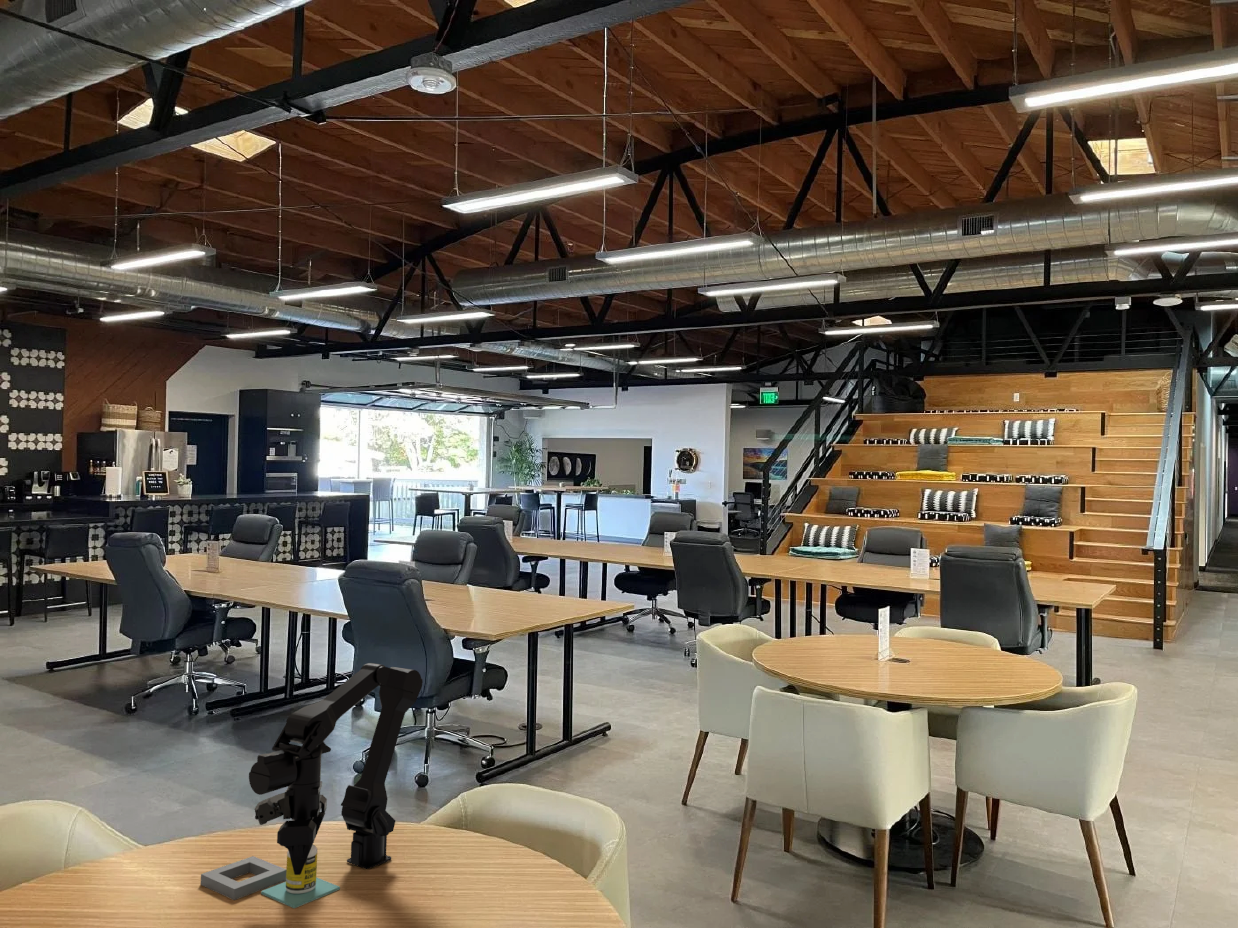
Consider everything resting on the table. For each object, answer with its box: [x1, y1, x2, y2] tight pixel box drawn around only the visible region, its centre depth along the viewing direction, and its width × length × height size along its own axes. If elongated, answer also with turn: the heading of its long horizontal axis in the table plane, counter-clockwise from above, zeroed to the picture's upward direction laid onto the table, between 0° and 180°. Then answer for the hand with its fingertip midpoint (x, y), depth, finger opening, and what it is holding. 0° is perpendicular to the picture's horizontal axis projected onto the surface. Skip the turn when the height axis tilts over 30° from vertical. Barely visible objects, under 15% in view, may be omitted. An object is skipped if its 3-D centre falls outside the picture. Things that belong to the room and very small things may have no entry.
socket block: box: [200, 855, 287, 901], centre depth 171 cm, size 11×11×2 cm
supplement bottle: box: [285, 841, 318, 894], centre depth 168 cm, size 5×5×10 cm
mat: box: [260, 876, 341, 909], centre depth 167 cm, size 10×10×1 cm
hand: (301, 864), depth 168 cm, fingers open, 9 cm apart
